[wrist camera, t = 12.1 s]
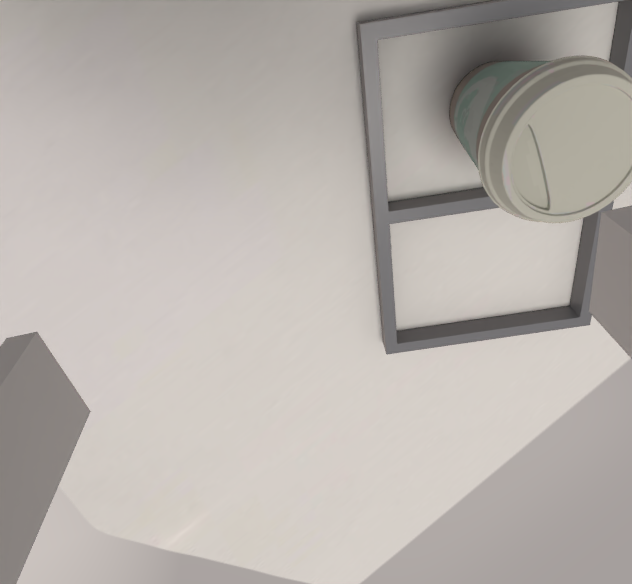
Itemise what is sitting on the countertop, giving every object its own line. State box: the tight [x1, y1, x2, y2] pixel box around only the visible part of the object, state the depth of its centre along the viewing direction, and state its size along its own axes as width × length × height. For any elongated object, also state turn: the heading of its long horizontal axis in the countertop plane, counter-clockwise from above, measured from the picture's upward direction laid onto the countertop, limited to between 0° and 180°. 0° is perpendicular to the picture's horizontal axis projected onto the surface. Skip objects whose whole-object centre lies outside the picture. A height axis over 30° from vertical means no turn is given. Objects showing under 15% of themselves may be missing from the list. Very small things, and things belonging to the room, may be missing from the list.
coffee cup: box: [450, 56, 632, 223], centre depth 30 cm, size 8×8×12 cm
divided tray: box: [356, 0, 632, 354], centre depth 37 cm, size 26×19×2 cm
